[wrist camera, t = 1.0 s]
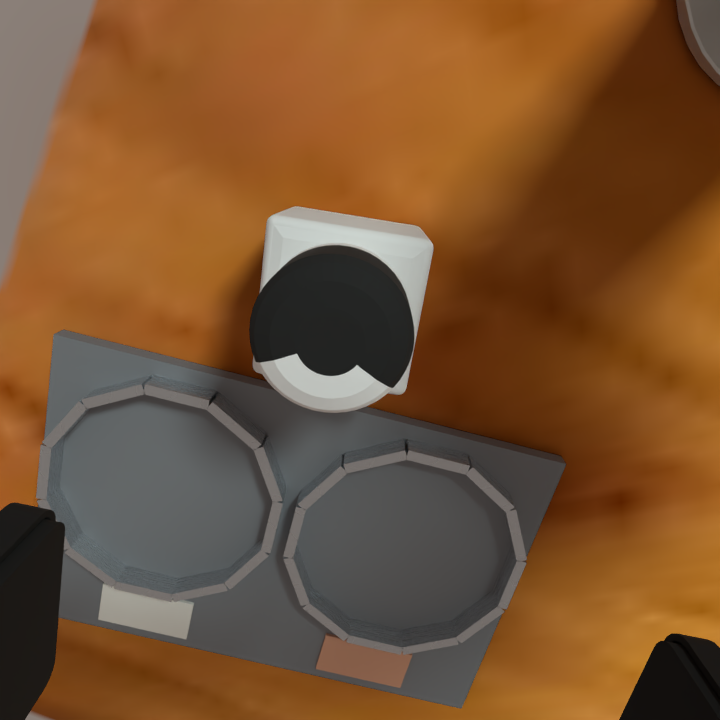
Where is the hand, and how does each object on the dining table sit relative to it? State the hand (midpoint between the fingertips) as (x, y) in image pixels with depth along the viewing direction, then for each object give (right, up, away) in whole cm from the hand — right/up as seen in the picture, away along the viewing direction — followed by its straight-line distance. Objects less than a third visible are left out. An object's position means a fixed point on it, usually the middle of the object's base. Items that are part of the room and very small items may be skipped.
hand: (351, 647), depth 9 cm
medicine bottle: (-1, +9, +23) cm, 24 cm away
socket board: (-5, -7, +28) cm, 29 cm away
